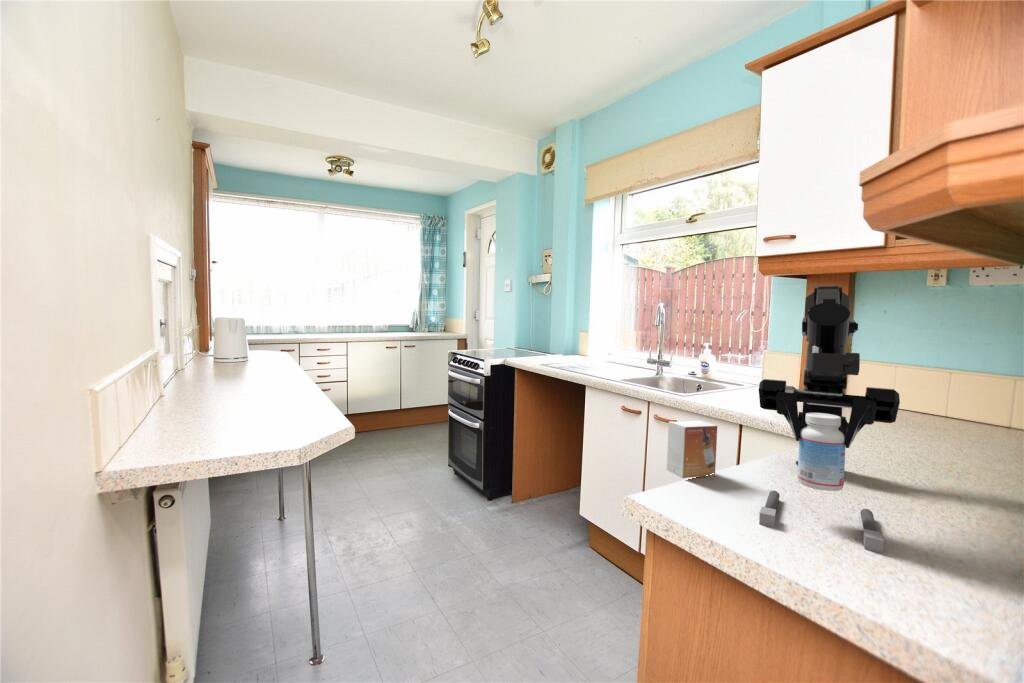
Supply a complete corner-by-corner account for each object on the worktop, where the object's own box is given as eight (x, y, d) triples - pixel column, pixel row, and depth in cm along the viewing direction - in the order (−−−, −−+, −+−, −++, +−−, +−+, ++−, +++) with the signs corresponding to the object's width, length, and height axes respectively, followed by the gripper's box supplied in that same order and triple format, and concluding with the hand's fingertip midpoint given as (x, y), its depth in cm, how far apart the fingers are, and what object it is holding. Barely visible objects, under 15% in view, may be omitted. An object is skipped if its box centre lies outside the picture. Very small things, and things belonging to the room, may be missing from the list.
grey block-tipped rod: (767, 498, 81) (768, 488, 81) (780, 500, 80) (781, 490, 80) (759, 524, 71) (759, 512, 71) (774, 527, 69) (774, 516, 69)
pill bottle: (851, 494, 69) (855, 420, 68) (806, 490, 70) (810, 418, 69) (831, 480, 75) (835, 412, 74) (790, 477, 76) (794, 410, 75)
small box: (682, 479, 90) (684, 427, 90) (665, 470, 96) (667, 420, 95) (716, 476, 92) (718, 425, 92) (698, 467, 98) (700, 419, 97)
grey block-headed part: (858, 516, 74) (859, 506, 74) (874, 520, 73) (874, 509, 73) (864, 548, 63) (865, 536, 63) (882, 553, 62) (883, 540, 62)
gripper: (762, 333, 79) (751, 405, 71) (901, 336, 69) (908, 422, 60) (765, 373, 86) (755, 443, 78) (892, 382, 76) (897, 464, 67)
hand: (821, 442), depth 71 cm, fingers closed on pill bottle, 6 cm apart
